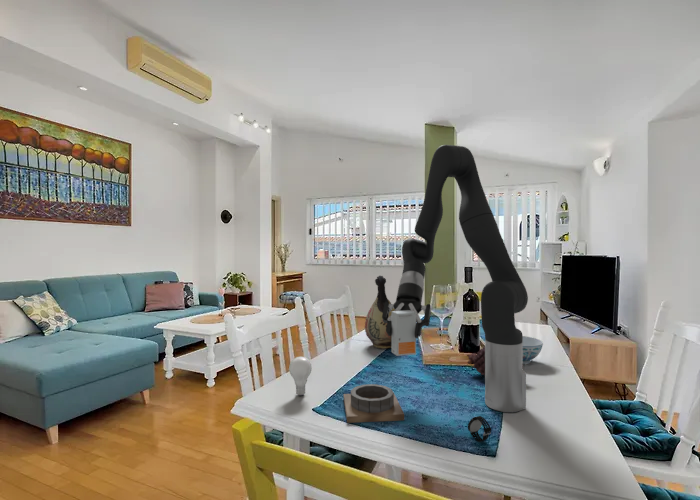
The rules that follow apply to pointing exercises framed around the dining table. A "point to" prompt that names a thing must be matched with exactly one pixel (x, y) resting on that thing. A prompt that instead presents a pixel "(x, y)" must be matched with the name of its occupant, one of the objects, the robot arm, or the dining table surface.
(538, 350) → the chinaware
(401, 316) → the skincare box
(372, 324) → the ceramic jug
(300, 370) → the lightbulb
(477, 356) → the pine cone
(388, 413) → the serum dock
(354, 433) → the dining table surface
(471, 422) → the smartwatch
